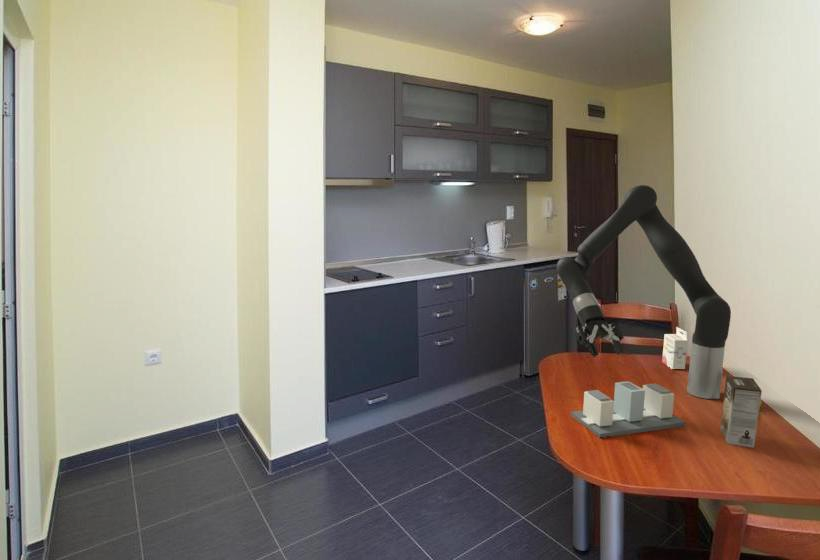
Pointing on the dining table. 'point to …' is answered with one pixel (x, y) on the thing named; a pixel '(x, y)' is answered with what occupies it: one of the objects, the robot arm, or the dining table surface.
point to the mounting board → (629, 424)
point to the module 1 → (598, 407)
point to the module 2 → (658, 400)
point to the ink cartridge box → (675, 349)
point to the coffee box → (740, 411)
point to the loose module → (629, 401)
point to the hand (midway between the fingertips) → (608, 354)
